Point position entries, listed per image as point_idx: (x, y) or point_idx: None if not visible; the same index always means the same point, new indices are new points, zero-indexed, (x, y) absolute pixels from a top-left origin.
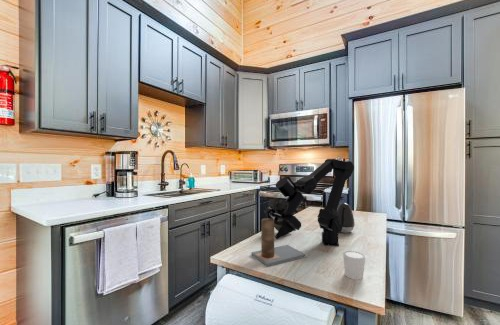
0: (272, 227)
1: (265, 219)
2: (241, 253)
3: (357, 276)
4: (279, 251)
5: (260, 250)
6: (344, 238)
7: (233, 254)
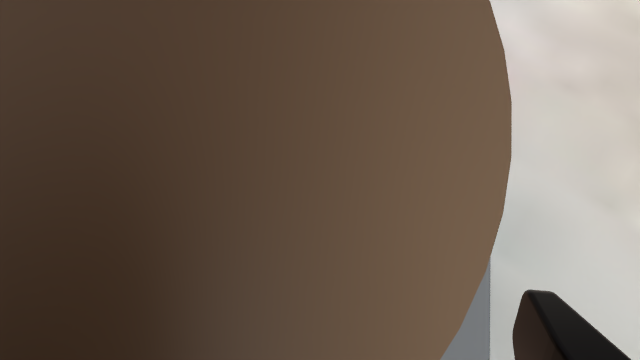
0: None
1: (266, 47)
2: (577, 113)
3: None
4: None
5: (488, 308)
6: None
7: (591, 32)
